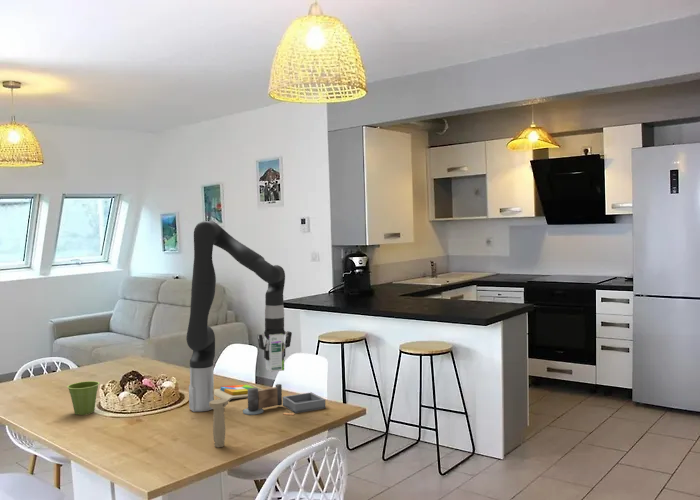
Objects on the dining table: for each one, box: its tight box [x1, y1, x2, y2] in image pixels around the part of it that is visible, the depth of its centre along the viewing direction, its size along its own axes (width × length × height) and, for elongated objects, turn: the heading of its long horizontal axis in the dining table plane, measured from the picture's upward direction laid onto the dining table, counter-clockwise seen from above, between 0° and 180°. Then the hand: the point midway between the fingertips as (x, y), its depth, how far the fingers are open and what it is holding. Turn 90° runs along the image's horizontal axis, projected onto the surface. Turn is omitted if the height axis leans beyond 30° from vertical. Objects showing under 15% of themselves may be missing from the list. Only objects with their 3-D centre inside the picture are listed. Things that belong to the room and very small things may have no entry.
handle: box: [209, 398, 229, 448], centre depth 202 cm, size 5×6×15 cm
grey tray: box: [282, 391, 326, 414], centre depth 247 cm, size 13×13×4 cm
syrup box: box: [264, 333, 285, 373], centre depth 241 cm, size 6×6×14 cm
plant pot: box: [66, 380, 100, 416], centre depth 242 cm, size 12×12×11 cm
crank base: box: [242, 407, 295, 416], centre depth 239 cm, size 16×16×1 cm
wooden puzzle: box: [214, 383, 264, 402], centre depth 268 cm, size 18×19×4 cm
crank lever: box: [247, 383, 283, 411], centre depth 244 cm, size 14×4×8 cm, turn 123°
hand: (274, 358), depth 241 cm, fingers closed on syrup box, 5 cm apart
